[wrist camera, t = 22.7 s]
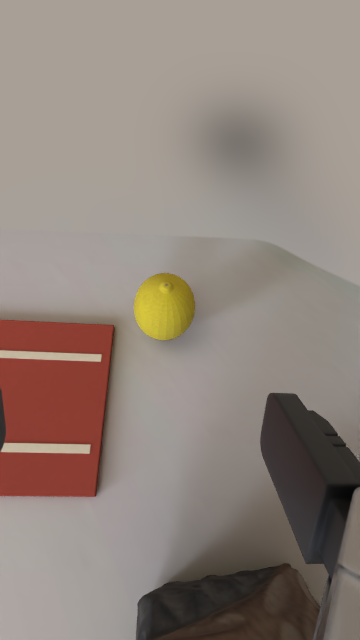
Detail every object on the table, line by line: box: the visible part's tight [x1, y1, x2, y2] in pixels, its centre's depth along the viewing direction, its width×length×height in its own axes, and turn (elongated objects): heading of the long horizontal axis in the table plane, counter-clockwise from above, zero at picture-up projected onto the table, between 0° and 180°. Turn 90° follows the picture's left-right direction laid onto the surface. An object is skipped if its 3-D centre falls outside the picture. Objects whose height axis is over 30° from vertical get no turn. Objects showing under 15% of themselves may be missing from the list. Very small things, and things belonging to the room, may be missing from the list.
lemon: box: [134, 273, 195, 340], centre depth 30 cm, size 6×6×8 cm
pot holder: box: [0, 320, 114, 497], centre depth 29 cm, size 16×15×1 cm
